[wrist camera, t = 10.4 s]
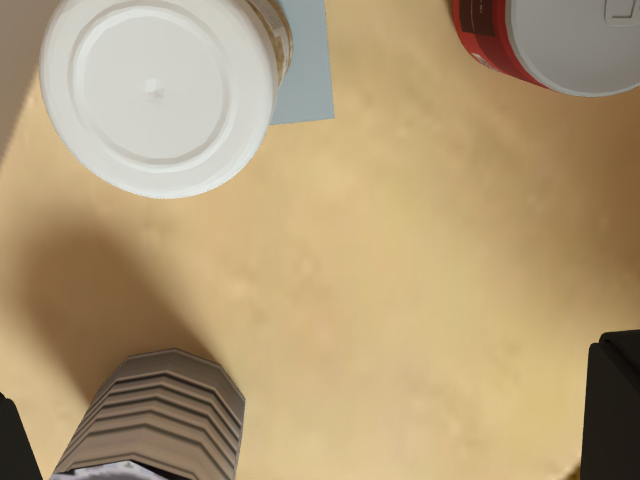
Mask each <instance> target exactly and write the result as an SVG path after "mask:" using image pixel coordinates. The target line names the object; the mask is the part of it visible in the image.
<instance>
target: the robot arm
mask: <svg viewBox="0 0 640 480" xmlns="http://www.w3.org/2000/svg"><path fill="white" fill-rule="evenodd" d="M0 480H43V478H42V476H41V473H40V470H39V468H38V465H37V462H36V459H35V457H34V454H33V451H32V449H31V446H30V443H29V441H28V438H27V435H26V432H25V430H24V427H23V424H22V422H21V419H20V416H19V413H18V411H17V408H16V406H15V404H14V402H13V401H12V400H11V399H8V398H5V396H4V395H3V394H2V393H1V392H0ZM580 480H640V329H638V330H627V331H617V332H606V333H604V334H602V335H601V337H600V339H599V343H593V344H591V345H590V348H589V354H588V368H587V383H586V397H585V412H584V427H583V441H582V456H581V470H580Z"/></svg>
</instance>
